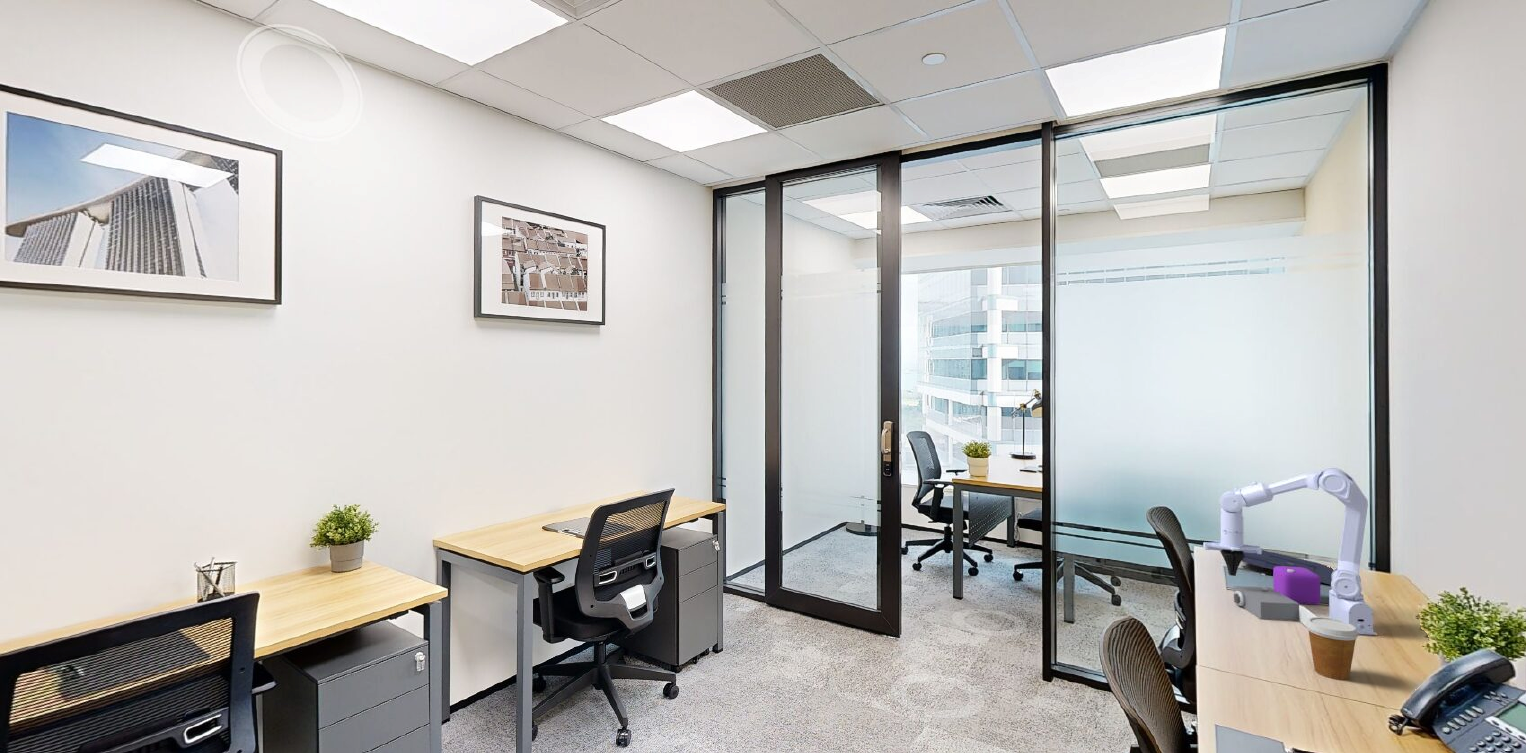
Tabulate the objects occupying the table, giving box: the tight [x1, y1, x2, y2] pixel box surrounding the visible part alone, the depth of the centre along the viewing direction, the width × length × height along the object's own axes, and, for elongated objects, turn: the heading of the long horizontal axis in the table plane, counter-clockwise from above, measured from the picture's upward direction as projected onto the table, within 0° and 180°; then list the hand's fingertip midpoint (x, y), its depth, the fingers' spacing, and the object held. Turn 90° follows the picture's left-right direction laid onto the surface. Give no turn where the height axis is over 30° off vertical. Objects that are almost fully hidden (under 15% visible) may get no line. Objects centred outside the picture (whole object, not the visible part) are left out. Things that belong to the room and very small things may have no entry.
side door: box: [1299, 605, 1317, 627], centre depth 179 cm, size 13×1×4 cm, turn 161°
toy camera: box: [1272, 566, 1321, 605], centre depth 204 cm, size 11×14×10 cm
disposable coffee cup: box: [1305, 616, 1360, 681], centre depth 155 cm, size 10×10×12 cm
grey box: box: [1233, 585, 1304, 622], centre depth 193 cm, size 15×12×6 cm
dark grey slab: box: [1241, 549, 1334, 586], centre depth 231 cm, size 24×30×4 cm
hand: (1232, 574), depth 199 cm, fingers closed
